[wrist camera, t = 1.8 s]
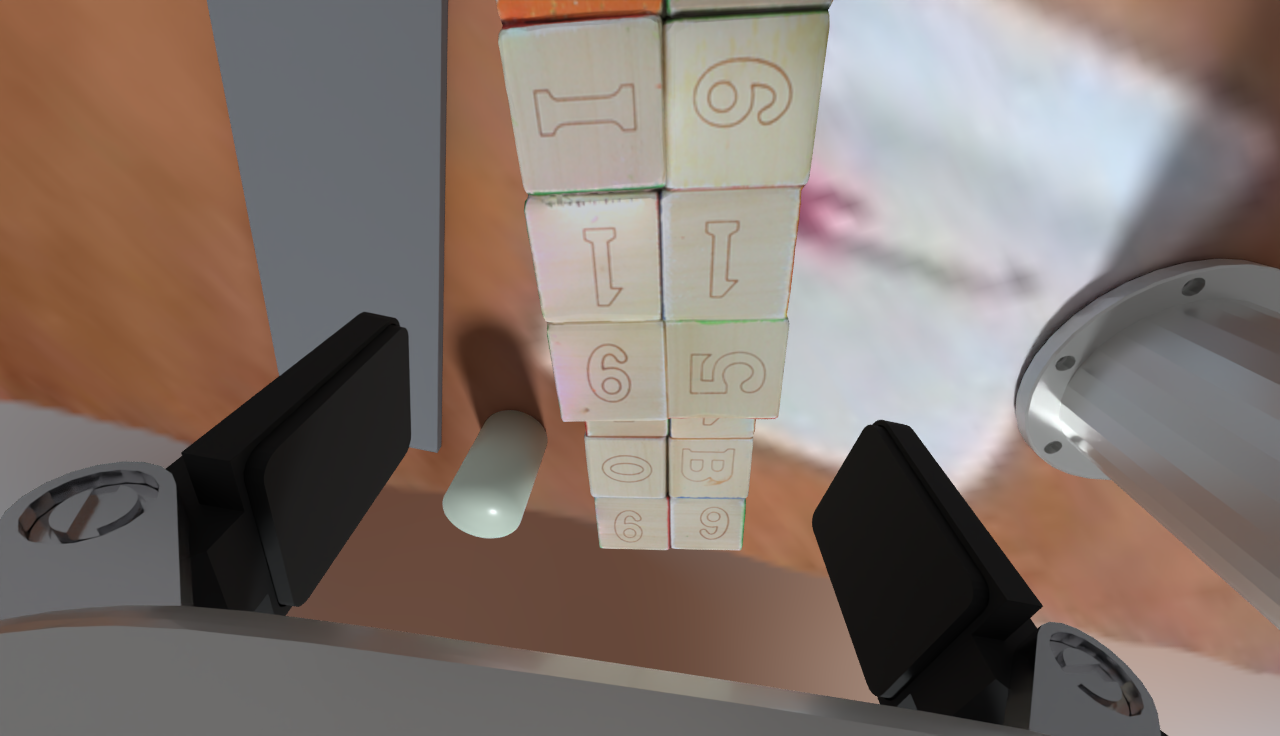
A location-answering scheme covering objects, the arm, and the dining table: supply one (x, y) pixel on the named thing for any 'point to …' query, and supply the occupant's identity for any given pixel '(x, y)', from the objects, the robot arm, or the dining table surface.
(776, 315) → the stack of blocks
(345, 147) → the mat
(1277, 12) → the dining table surface
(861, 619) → the robot arm
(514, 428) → the mint green capsule
